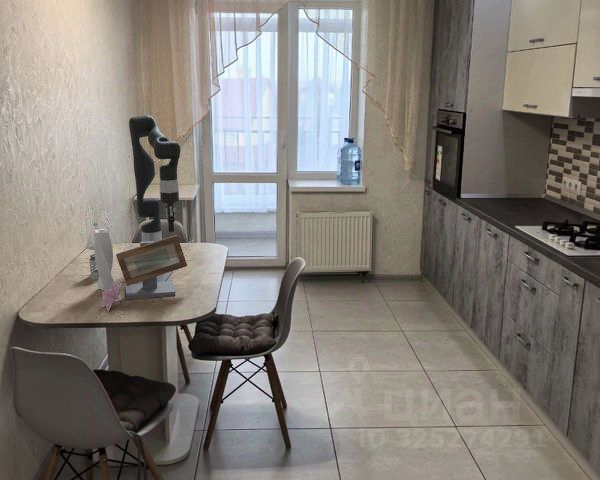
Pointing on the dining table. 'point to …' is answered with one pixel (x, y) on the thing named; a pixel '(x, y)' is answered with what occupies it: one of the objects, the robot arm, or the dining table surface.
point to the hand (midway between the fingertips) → (171, 231)
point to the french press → (93, 262)
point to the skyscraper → (104, 258)
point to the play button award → (162, 277)
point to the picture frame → (151, 260)
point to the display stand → (150, 287)
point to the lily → (111, 296)
